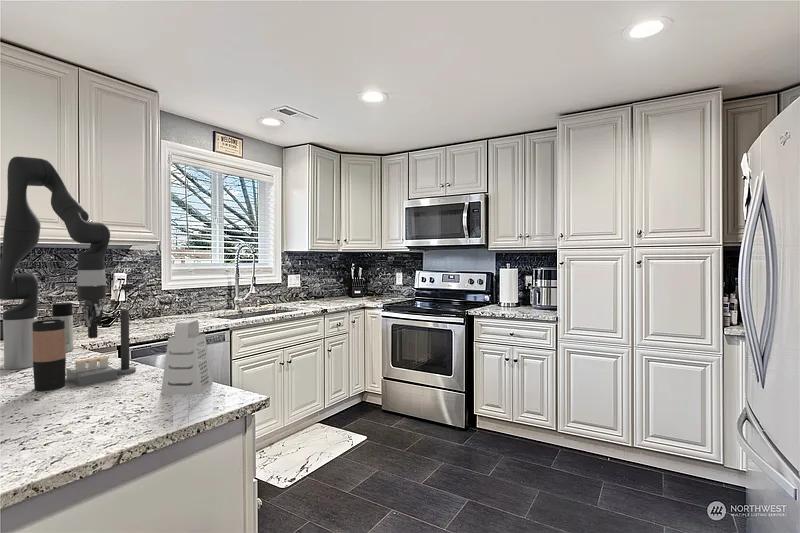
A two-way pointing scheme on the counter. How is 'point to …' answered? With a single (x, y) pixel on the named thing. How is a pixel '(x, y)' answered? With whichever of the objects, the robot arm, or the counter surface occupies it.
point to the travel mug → (49, 354)
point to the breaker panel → (91, 375)
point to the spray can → (65, 313)
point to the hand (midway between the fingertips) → (92, 337)
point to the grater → (186, 360)
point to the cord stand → (125, 345)
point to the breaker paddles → (91, 363)
